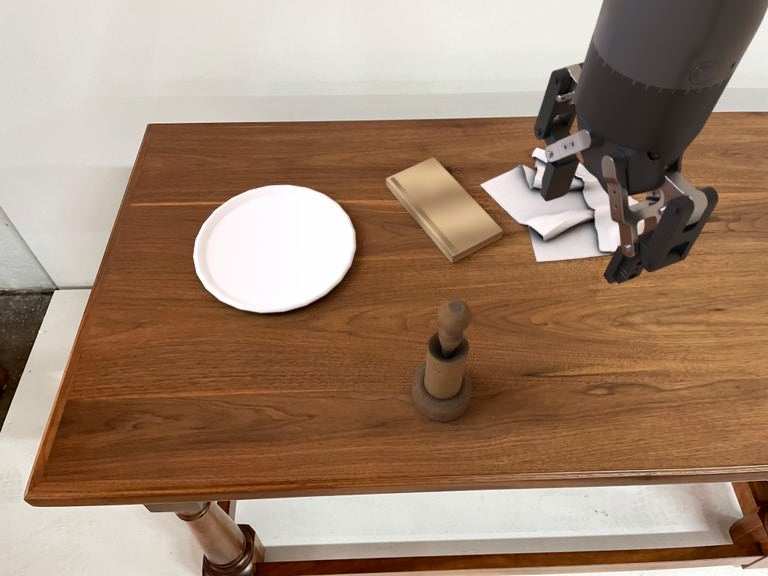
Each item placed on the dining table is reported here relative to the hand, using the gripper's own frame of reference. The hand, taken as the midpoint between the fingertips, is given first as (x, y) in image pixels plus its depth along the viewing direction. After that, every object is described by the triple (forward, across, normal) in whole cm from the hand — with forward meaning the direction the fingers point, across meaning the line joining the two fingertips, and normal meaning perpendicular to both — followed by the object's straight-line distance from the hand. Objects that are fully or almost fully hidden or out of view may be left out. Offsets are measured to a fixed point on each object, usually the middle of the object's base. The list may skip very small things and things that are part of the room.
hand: (583, 234), depth 45 cm
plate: (+27, +29, +19) cm, 44 cm away
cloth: (+27, +22, -19) cm, 39 cm away
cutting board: (+27, +27, -3) cm, 38 cm away
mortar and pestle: (+27, +2, +8) cm, 28 cm away
